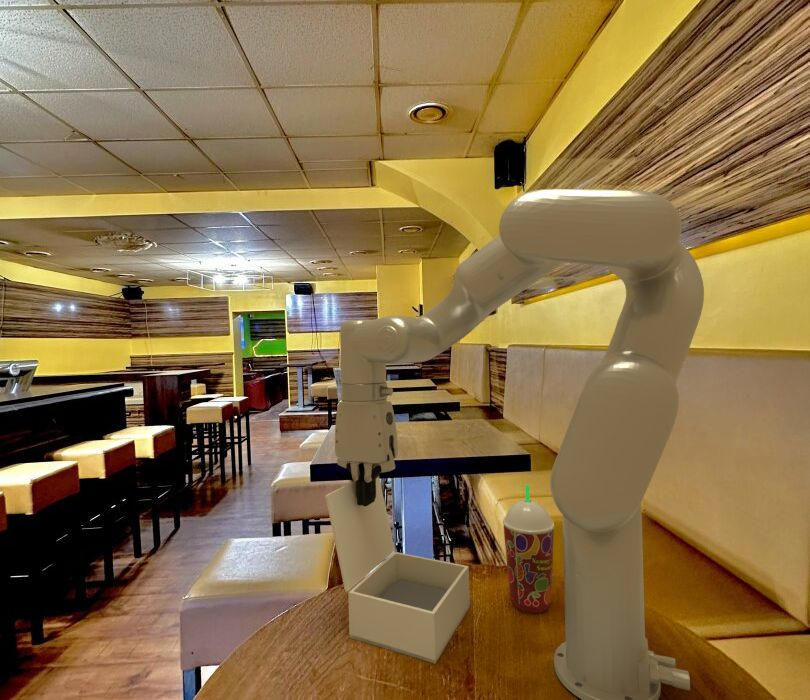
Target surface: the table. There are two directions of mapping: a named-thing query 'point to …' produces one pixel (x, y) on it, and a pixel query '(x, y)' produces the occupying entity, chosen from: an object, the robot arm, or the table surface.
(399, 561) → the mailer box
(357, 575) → the lid
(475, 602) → the table surface
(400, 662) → the table surface
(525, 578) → the smoothie
